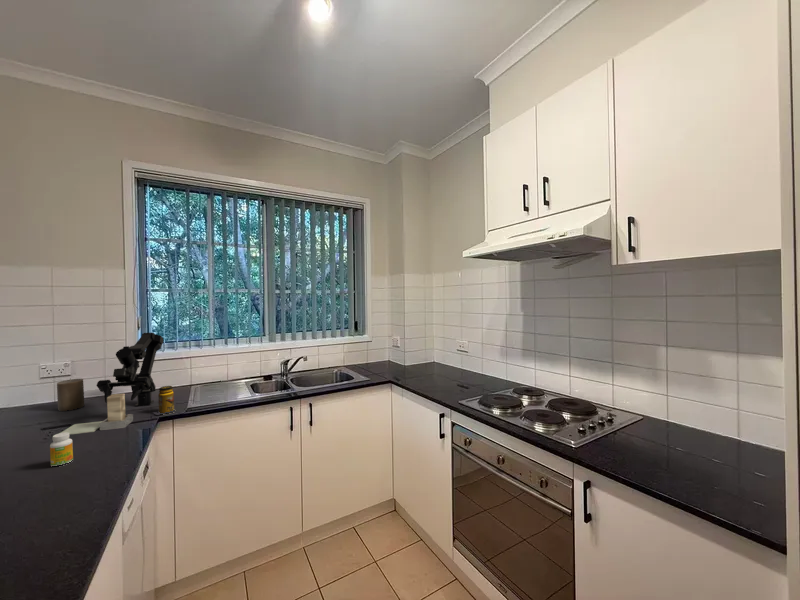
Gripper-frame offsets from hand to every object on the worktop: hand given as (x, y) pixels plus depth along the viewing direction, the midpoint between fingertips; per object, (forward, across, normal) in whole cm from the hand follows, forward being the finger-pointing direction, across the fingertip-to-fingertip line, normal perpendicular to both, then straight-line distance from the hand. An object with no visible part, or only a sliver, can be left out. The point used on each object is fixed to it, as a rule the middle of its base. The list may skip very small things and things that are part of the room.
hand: (118, 401), depth 150 cm
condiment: (0, +14, +14) cm, 20 cm away
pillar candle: (-17, -33, +31) cm, 48 cm away
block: (+9, 0, +5) cm, 10 cm away
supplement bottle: (+33, -2, -18) cm, 38 cm away
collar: (+9, 0, +5) cm, 10 cm away
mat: (+8, -12, +6) cm, 16 cm away
